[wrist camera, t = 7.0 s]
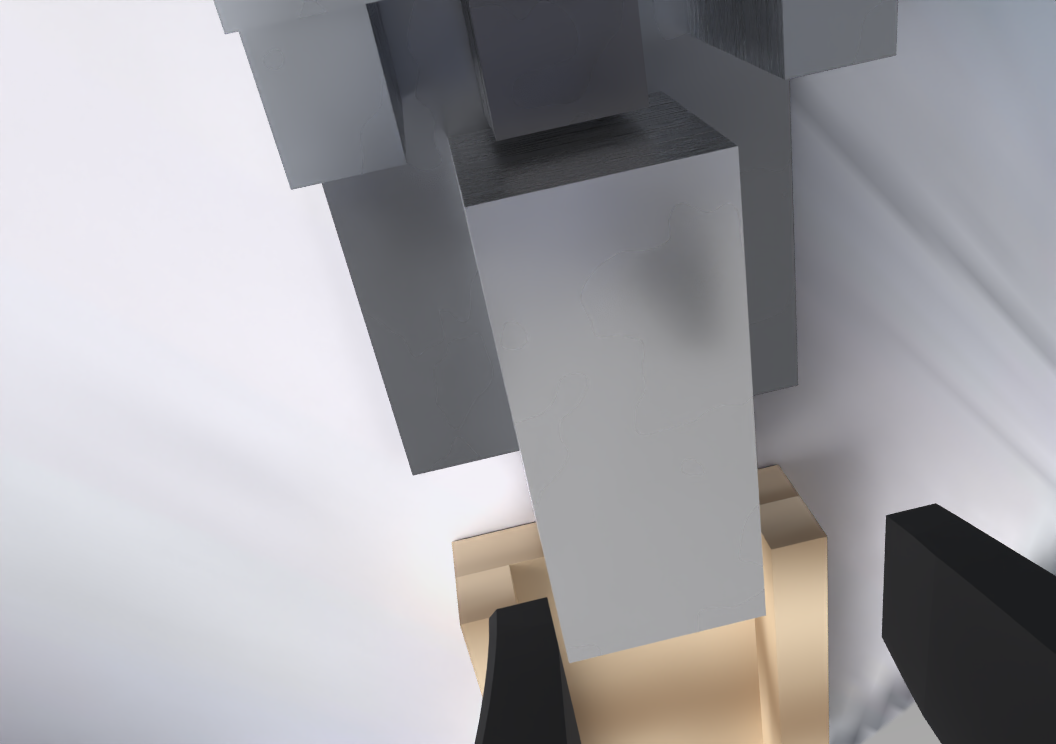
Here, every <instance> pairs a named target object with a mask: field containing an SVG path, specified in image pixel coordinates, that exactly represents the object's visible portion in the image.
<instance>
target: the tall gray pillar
mask: <svg viewBox="0 0 1056 744" xmlns="http://www.w3.org/2000/svg"><path fill="white" fill-rule="evenodd" d="M648 99H649V107H648V108H644V109H639V110H635V111H630V112H626V113H621V114H617V115H612V116H608V117H603V118H599V119H594V120H590V121H585V122H581V123H576V124H572V125H567V126H563V127H558V128H554V129H549V130H545V131H540V132H536V133H531V134H527V135H522V136H518V137H513V138H509V139H504V140H500V141H496V139H495V137H494V135H493V132H492V130H491V129H486V130H482V131H477V132H473V133H468V134H464V135H459V136H455V137H450V138H448V141H449V146H450V150H451V154H452V159H453V163H454V167H455V172H456V176H457V180H458V185H459V189H460V194H461V198H462V202H463V207H464V211H465V215H466V220H467V224H468V228H469V233H470V237H471V241H472V246H473V250H474V255H475V259H476V263H477V268H478V272H479V276H480V281H481V285H482V289H483V294H484V298H485V302H486V307H487V311H488V316H489V320H490V324H491V329H492V333H493V337H494V342H495V346H496V350H497V355H498V359H499V363H500V368H501V372H502V377H503V381H504V385H505V390H506V394H507V398H508V403H509V407H510V411H511V416H512V420H513V424H514V429H515V433H516V438H517V442H518V446H519V451H520V455H521V459H522V464H523V468H524V472H525V477H526V481H527V485H528V490H529V494H530V499H531V503H532V507H533V512H534V516H535V520H536V525H537V529H538V533H539V538H540V542H541V546H542V550H543V555H544V559H545V563H546V567H547V572H548V576H549V580H550V584H551V589H552V593H553V597H554V601H555V605H556V610H557V614H558V618H559V622H560V627H561V631H562V635H563V639H564V644H565V648H566V652H567V656H568V661H569V663H573V662H577V661H581V660H585V659H589V658H593V657H597V656H601V655H606V654H610V653H614V652H618V651H622V650H626V649H630V648H634V647H638V646H643V645H647V644H651V643H655V642H659V641H663V640H667V639H671V638H675V637H679V636H684V635H688V634H692V633H696V632H700V631H704V630H708V629H712V628H716V627H721V626H725V625H729V624H733V623H737V622H741V621H745V620H749V619H753V618H758V617H762V616H766V606H765V589H764V572H763V555H762V538H761V522H760V505H759V488H758V471H757V454H756V438H755V421H754V404H753V387H752V370H751V354H750V337H749V320H748V303H747V286H746V269H745V253H744V236H743V219H742V202H741V185H740V169H739V152H738V146H737V145H736V144H735V143H733V142H732V141H730V140H729V139H728V138H726V137H725V136H724V135H722V134H721V133H719V132H718V131H717V130H715V129H714V128H712V127H711V126H710V125H708V124H707V123H705V122H704V121H703V120H701V119H700V118H699V117H697V116H696V115H694V114H693V113H692V112H690V111H689V110H687V109H686V108H685V107H683V106H682V105H681V104H679V103H678V102H676V101H675V100H674V99H672V98H671V97H669V96H668V95H667V94H665V93H664V92H663V91H658V92H653V93H649V94H648Z"/></svg>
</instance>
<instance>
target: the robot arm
mask: <svg viewBox="0 0 1056 744" xmlns="http://www.w3.org/2000/svg"><path fill="white" fill-rule="evenodd" d="M882 638H883V640H884V642H885V644H886V646H887V648H888V650H889V652H890V654H891V656H892V658H893V660H894V662H895V664H896V666H897V668H898V670H899V671H900V673H901V675H902V677H903V679H904V681H905V683H906V685H907V687H908V689H909V690H910V692H911V694H912V696H913V698H914V700H915V702H916V703H917V705H918V707H919V709H920V711H921V713H922V715H923V716H924V718H925V719H926V720H927V722H928V724H929V725H930V727H931V728H932V730H933V731H934V733H935V734H936V736H937V737H938V739H939V740H940V742H941V743H942V744H1056V576H1055V575H1053V574H1051V573H1050V572H1048V571H1047V570H1045V569H1043V568H1042V567H1040V566H1038V565H1037V564H1035V563H1033V562H1032V561H1030V560H1028V559H1027V558H1025V557H1023V556H1022V555H1020V554H1018V553H1017V552H1015V551H1014V550H1012V549H1010V548H1009V547H1007V546H1005V545H1004V544H1002V543H1001V542H999V541H997V540H996V539H994V538H992V537H991V536H989V535H987V534H986V533H984V532H983V531H981V530H979V529H978V528H976V527H974V526H973V525H971V524H970V523H968V522H966V521H965V520H963V519H961V518H960V517H958V516H956V515H955V514H953V513H951V512H950V511H948V510H946V509H945V508H943V507H941V506H939V505H938V504H936V503H935V504H931V505H927V506H923V507H919V508H915V509H910V510H906V511H902V512H898V513H894V514H890V515H886V533H885V562H884V590H883V618H882ZM475 744H581V740H580V735H579V731H578V727H577V722H576V718H575V714H574V709H573V705H572V701H571V696H570V692H569V688H568V684H567V679H566V675H565V671H564V667H563V662H562V658H561V654H560V650H559V645H558V641H557V637H556V632H555V628H554V624H553V620H552V615H551V611H550V607H549V603H548V598H547V597H545V598H541V599H537V600H532V601H528V602H524V603H520V604H516V605H512V606H508V607H503V608H499V609H496V610H495V612H494V613H493V614H492V615H491V616H490V618H489V645H488V659H487V669H486V678H485V686H484V693H483V700H482V706H481V713H480V719H479V724H478V730H477V735H476V740H475Z"/></svg>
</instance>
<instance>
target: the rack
mask: <svg viewBox="0 0 1056 744" xmlns="http://www.w3.org/2000/svg"><path fill="white" fill-rule="evenodd" d="M757 471H758V488H759V505H760V522H761V538H762V555H763V572H764V589H765V606H766V616H762V617H758V618H753V619H749V620H745V621H741V622H737V623H733V624H729V625H725V626H721V627H716V628H712V629H708V630H704V631H700V632H696V633H692V634H688V635H684V636H679V637H675V638H671V639H667V640H663V641H659V642H655V643H651V644H647V645H643V646H638V647H634V648H630V649H626V650H622V651H618V652H614V653H610V654H606V655H601V656H597V657H593V658H589V659H585V660H581V661H577V662H573V663H569V661H568V656H567V652H566V648H565V644H564V639H563V635H562V631H561V627H560V622H559V618H558V614H557V610H556V605H555V601H554V597H553V593H552V589H551V584H550V580H549V576H548V572H547V567H546V563H545V559H544V555H543V550H542V546H541V542H540V538H539V533H538V529H537V525H536V522H534V523H530V524H526V525H522V526H518V527H513V528H509V529H505V530H501V531H497V532H492V533H488V534H484V535H480V536H476V537H471V538H467V539H463V540H459V541H454V542H452V549H453V559H454V569H455V579H456V589H457V599H458V609H459V619H460V626H461V629H462V633H463V636H464V639H465V642H466V645H467V649H468V652H469V655H470V658H471V662H472V665H473V668H474V671H475V674H476V678H477V681H478V684H479V687H480V690H481V694H482V697H483V693H484V686H485V678H486V669H487V659H488V645H489V618H490V616H491V615H492V614H493V613H494V612H495V610H496V609H499V608H503V607H508V606H512V605H516V604H520V603H524V602H528V601H532V600H537V599H541V598H545V597H547V598H548V603H549V607H550V611H551V615H552V620H553V624H554V628H555V632H556V637H557V641H558V645H559V650H560V654H561V658H562V662H563V667H564V671H565V675H566V679H567V684H568V688H569V692H570V696H571V701H572V705H573V709H574V714H575V718H576V722H577V727H578V731H579V735H580V740H581V744H829V687H828V578H827V535H826V534H825V532H824V531H823V530H822V528H821V527H820V525H819V524H818V522H817V521H816V519H815V518H814V516H813V515H812V513H811V512H810V511H809V509H808V508H807V506H806V505H805V503H804V502H803V500H802V499H801V497H800V496H799V494H798V493H797V492H796V490H795V489H794V487H793V486H792V484H791V483H790V481H789V480H788V478H787V477H786V475H785V474H784V473H783V471H782V470H781V468H780V467H779V465H774V466H770V467H766V468H762V469H757Z"/></svg>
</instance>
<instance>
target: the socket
mask: <svg viewBox="0 0 1056 744" xmlns="http://www.w3.org/2000/svg"><path fill="white" fill-rule="evenodd" d="M214 3H215V6H216V9H217V12H218V15H219V18H220V21H221V24H222V27H223V30H224V33H225V34H229V33H233V32H238V31H239V34H240V37H241V40H242V43H243V46H244V49H245V52H246V55H247V58H248V61H249V64H250V67H251V70H252V73H253V76H254V79H255V82H256V85H257V88H258V91H259V94H260V97H261V100H262V103H263V106H264V109H265V112H266V115H267V118H268V121H269V124H270V127H271V131H272V134H273V137H274V140H275V143H276V146H277V149H278V152H279V155H280V158H281V161H282V164H283V167H284V170H285V173H286V176H287V179H288V182H289V185H290V188H291V190H292V189H297V188H301V187H306V186H310V185H315V184H319V183H322V185H323V189H324V192H325V195H326V198H327V202H328V205H329V208H330V211H331V214H332V218H333V221H334V224H335V227H336V230H337V234H338V237H339V240H340V243H341V246H342V250H343V253H344V256H345V259H346V263H347V266H348V269H349V272H350V275H351V279H352V282H353V285H354V288H355V291H356V295H357V298H358V301H359V304H360V307H361V311H362V314H363V317H364V320H365V323H366V327H367V330H368V333H369V336H370V340H371V343H372V346H373V349H374V352H375V356H376V359H377V362H378V365H379V368H380V372H381V375H382V378H383V381H384V384H385V388H386V391H387V394H388V397H389V401H390V404H391V407H392V410H393V413H394V417H395V420H396V423H397V426H398V429H399V433H400V436H401V439H402V442H403V445H404V449H405V452H406V455H407V458H408V461H409V465H410V468H411V471H412V474H413V475H417V474H422V473H426V472H430V471H434V470H439V469H443V468H447V467H451V466H456V465H460V464H464V463H468V462H473V461H477V460H481V459H486V458H490V457H494V456H498V455H503V454H507V453H511V452H515V451H519V446H518V442H517V438H516V433H515V429H514V424H513V420H512V416H511V411H510V407H509V403H508V398H507V394H506V390H505V385H504V381H503V377H502V372H501V368H500V363H499V359H498V355H497V350H496V346H495V342H494V337H493V333H492V329H491V324H490V320H489V316H488V311H487V307H486V302H485V298H484V294H483V289H482V285H481V281H480V276H479V272H478V268H477V263H476V259H475V255H474V250H473V246H472V241H471V237H470V233H469V228H468V224H467V220H466V215H465V211H464V207H463V202H462V198H461V194H460V189H459V185H458V180H457V176H456V172H455V167H454V163H453V159H452V154H451V150H450V146H449V141H448V138H450V137H455V136H459V135H464V134H468V133H473V132H477V131H482V130H486V129H491V128H490V126H489V123H488V121H487V119H486V116H485V113H484V109H483V104H482V99H481V94H480V89H479V84H478V79H477V74H476V69H475V65H474V60H473V55H472V50H471V45H470V40H469V35H468V30H467V26H466V21H465V16H464V11H463V6H462V1H461V0H214ZM638 8H639V17H640V26H641V35H642V44H643V54H644V63H645V72H646V81H647V90H648V94H649V93H653V92H658V91H663V92H664V93H665V94H667V95H668V96H669V97H671V98H672V99H674V100H675V101H676V102H678V103H679V104H681V105H682V106H683V107H685V108H686V109H687V110H689V111H690V112H692V113H693V114H694V115H696V116H697V117H699V118H700V119H701V120H703V121H704V122H705V123H707V124H708V125H710V126H711V127H712V128H714V129H715V130H717V131H718V132H719V133H721V134H722V135H724V136H725V137H726V138H728V139H729V140H730V141H732V142H733V143H735V144H736V145H737V146H738V152H739V169H740V185H741V202H742V219H743V236H744V253H745V269H746V286H747V303H748V320H749V337H750V354H751V370H752V387H753V396H754V395H758V394H763V393H767V392H771V391H775V390H780V389H784V388H788V387H792V386H797V385H798V365H797V330H796V294H795V259H794V223H793V188H792V152H791V117H790V81H789V79H792V78H796V77H801V76H805V75H810V74H814V73H819V72H823V71H828V70H832V69H837V68H841V67H846V66H850V65H855V64H859V63H864V62H868V61H873V60H877V59H882V58H886V57H891V56H895V55H896V43H897V12H898V0H638Z"/></svg>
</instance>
